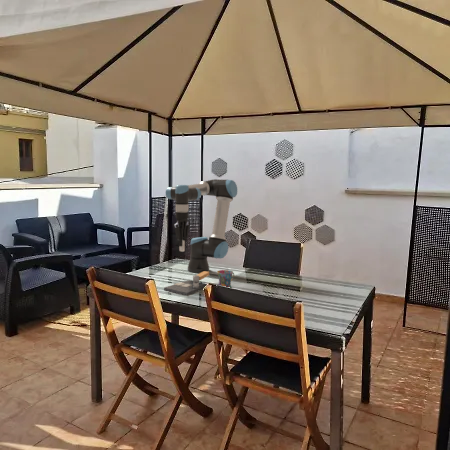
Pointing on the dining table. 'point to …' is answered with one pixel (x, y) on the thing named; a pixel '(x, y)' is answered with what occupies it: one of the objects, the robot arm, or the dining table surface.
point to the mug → (225, 277)
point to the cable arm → (200, 276)
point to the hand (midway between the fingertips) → (182, 251)
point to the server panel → (186, 287)
